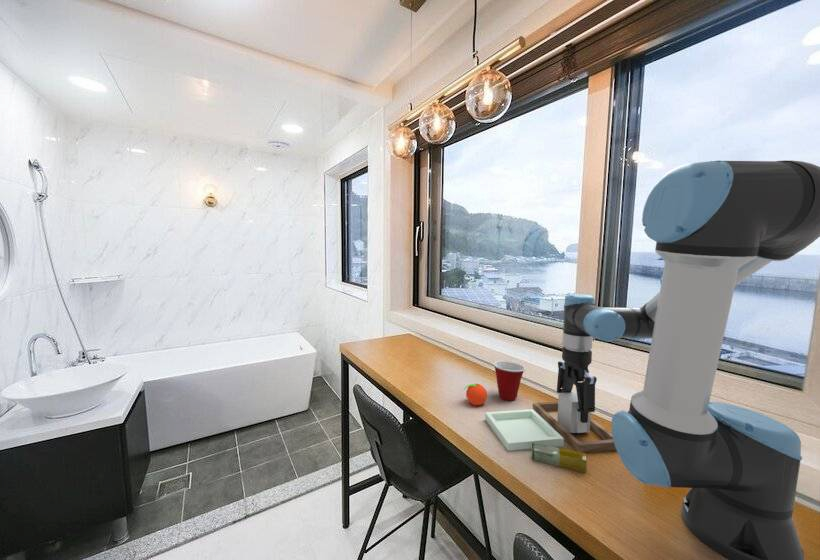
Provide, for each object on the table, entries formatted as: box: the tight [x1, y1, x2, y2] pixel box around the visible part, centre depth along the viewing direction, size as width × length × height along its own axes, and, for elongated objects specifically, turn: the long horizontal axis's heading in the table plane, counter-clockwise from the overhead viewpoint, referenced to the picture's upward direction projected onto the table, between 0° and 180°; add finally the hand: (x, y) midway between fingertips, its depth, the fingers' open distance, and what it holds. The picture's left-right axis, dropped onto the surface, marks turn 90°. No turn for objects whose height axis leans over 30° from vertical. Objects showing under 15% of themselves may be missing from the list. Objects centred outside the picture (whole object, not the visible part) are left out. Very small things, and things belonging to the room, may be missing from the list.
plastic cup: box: [493, 360, 526, 402], centre depth 111 cm, size 11×11×12 cm
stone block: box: [556, 391, 592, 434], centre depth 91 cm, size 6×6×9 cm
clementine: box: [462, 383, 488, 406], centre depth 106 cm, size 8×7×7 cm
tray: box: [484, 408, 565, 452], centre depth 89 cm, size 15×15×3 cm
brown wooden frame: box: [532, 400, 617, 454], centre depth 92 cm, size 22×12×2 cm, turn 8°
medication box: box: [531, 443, 588, 473], centre depth 76 cm, size 12×3×4 cm, turn 68°
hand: (573, 425), depth 92 cm, fingers closed on stone block, 6 cm apart
